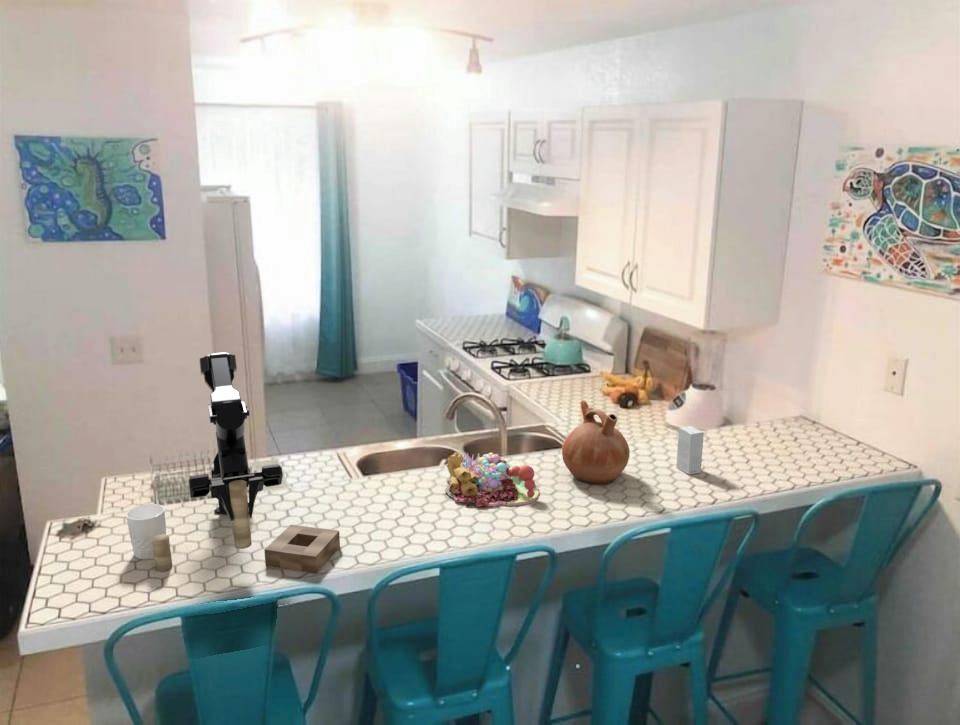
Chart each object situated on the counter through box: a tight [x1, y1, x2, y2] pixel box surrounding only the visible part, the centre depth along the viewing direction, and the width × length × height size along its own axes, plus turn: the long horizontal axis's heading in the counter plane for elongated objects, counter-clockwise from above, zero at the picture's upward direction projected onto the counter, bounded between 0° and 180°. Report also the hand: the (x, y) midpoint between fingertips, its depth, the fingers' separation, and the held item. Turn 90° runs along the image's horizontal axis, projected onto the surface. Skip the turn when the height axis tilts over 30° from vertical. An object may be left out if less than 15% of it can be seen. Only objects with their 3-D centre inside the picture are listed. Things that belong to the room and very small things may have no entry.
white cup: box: [125, 503, 167, 560], centre depth 178 cm, size 8×8×10 cm
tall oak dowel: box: [229, 480, 253, 550], centre depth 166 cm, size 3×3×14 cm
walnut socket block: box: [264, 524, 341, 574], centre depth 177 cm, size 12×12×4 cm
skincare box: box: [675, 425, 705, 475], centre depth 222 cm, size 6×4×12 cm
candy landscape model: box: [444, 452, 540, 508], centre depth 211 cm, size 25×24×9 cm
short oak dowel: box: [152, 534, 173, 573], centre depth 172 cm, size 3×3×7 cm
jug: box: [561, 399, 631, 486], centre depth 217 cm, size 18×18×20 cm
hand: (241, 519), depth 165 cm, fingers closed on tall oak dowel, 3 cm apart
